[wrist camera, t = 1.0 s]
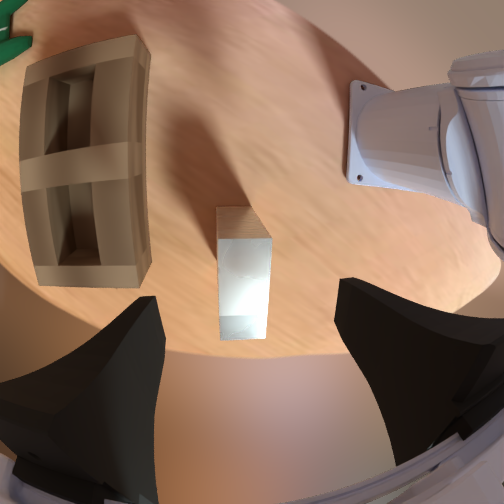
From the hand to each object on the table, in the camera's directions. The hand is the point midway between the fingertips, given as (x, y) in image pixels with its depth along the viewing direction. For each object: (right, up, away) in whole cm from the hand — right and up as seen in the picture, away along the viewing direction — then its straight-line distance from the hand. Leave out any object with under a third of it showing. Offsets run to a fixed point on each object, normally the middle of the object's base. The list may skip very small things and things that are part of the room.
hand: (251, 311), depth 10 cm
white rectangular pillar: (-1, +4, +9) cm, 10 cm away
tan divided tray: (-11, +8, +6) cm, 15 cm away
